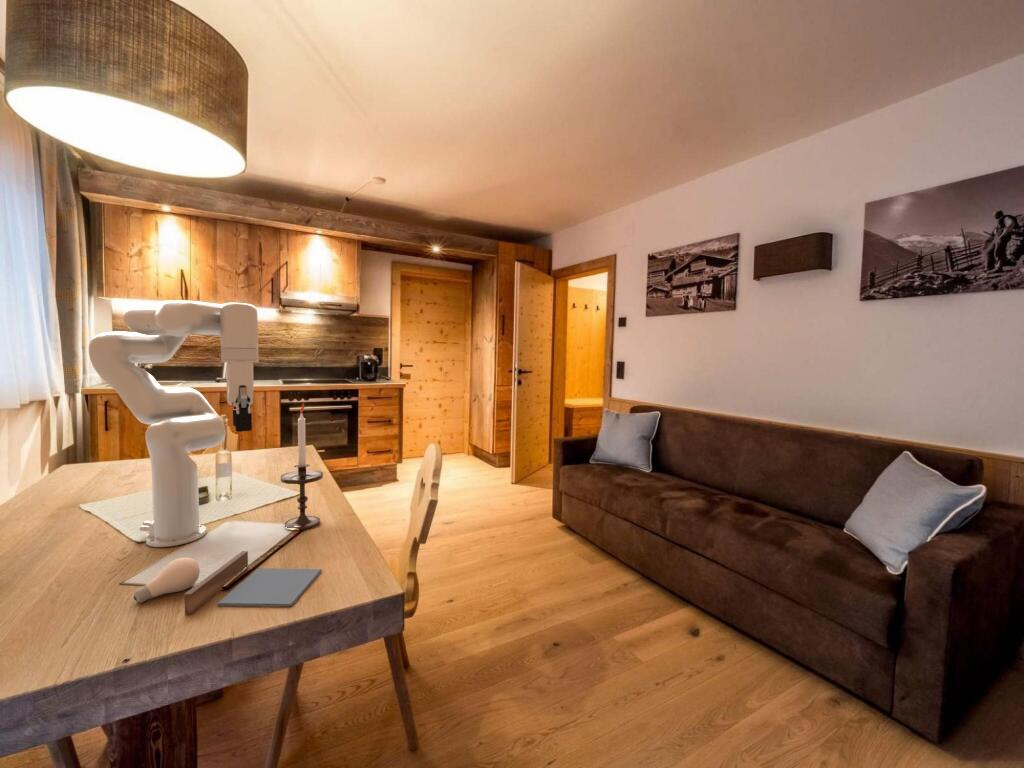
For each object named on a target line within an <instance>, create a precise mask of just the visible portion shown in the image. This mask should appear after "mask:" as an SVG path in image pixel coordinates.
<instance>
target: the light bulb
mask: <svg viewBox="0 0 1024 768" xmlns="http://www.w3.org/2000/svg"><path fill="white" fill-rule="evenodd" d="M200 572H201V570H200V565H199V563H198V562H197V561H196V559H193V558H191V557H179V558H176V559H173V560H172V561H170V562H169V563H167V564H166V565H165V566H164V567H163V568H162V569H161V571H160V572H159V573H158V574H157V575H156V576H155V577H154V578H153V579H151V580H149V581H148V582H147V583H146V584H145V585H143V586H141V587H139V588H138V589H136V590H135V591H134V595H133V600H134V601H136V602H137V603H141V604H142V603H145V602H147V601H148V600H150V599H152V598H157V597H159V596H162V595H165V594H170V593H178V592H182V591H185V590H188V589H189V588H191V587H192V586H193V585H194V584H196V582H197V580H198V579H199V576H200Z"/></svg>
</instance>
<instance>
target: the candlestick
mask: <svg viewBox="0 0 1024 768" xmlns="http://www.w3.org/2000/svg"><path fill="white" fill-rule="evenodd" d="M304 408H305V402H302V405H301V407H300V410H299V413H300V415H299V418H298V419H297V451H298V452H297V455H298V461H297V463H298V464H297V465H296V464H295V465H294V466H293V467H294V468H296V469H297V470H294V471H289V472H286V473H283V474H281V476H280V482H281V483H283V484H286V485H287V484H289V485H299V496H298V497H297V498H296V501H297V502H298V503H299V505H298V506H297V509H298V510H299V516H297V517H293V518H289V519H288V520H287V521H285V523H284V528H285V527H287V528H298V529H299V530H301V531H300V532H302V531H307V530H311V529H314V528H317V527H318V526H319V525H321V519H320V517H319V516H314V515H306V509H308V506H307V505H306V502H307V501H308V499H309V497H308V496H307V495H306V484H309V483H313V482H317V481H320V480H322V479H323V478H324V472H323V471H321V470H316V469H307V467H310V466H311V465H310V464H307V463H306V462H307V461H306V459H307V458H306V457H307V456H306V455H307V454H306V446H307V445H306V418H304V415H303V412H304V410H305V409H304ZM294 526H301V527H294Z"/></svg>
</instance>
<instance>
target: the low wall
mask: <svg viewBox="0 0 1024 768" xmlns="http://www.w3.org/2000/svg"><path fill="white" fill-rule="evenodd" d="M247 566H248V567H249V551H248V550H242V551H240V552H239V553H238V554H237V555H235V556H234V557H233V558H231V559H230V560H228V561H227V562H226V563H224V564H222V566H220V567H219V568H218V569H216V570H215V571H214V572H213V571H212V573H210V575H208V576H206V578H204V579H202V580H201V581H200V582H199V583H197V584H196V585H195V586H193V587H192V588H190V589H189V590H188V591H186V592H185V593H184V596H183V597H184V600H183V601H184V616H192V615H193V614H194V613H197V611H198V610H200V609H201V608H202V607H203V606H204V605H205V604H206V603H208V602H209V601H211V599H213V598H214V597H215V596H217V594H219V593H220V592H221V591H222V590H223V589H222V587H223V586H224V585H225V584H226V583H227V582H229V581H230V580H231V579H232V578H233V577H234V576H236V575H237V574H238V573H239V572H241V571H242V570H243V569H244V568H245V567H247Z"/></svg>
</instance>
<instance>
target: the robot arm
mask: <svg viewBox="0 0 1024 768" xmlns="http://www.w3.org/2000/svg"><path fill="white" fill-rule="evenodd" d="M122 318H123V319H122V320H123V323H124V324H125V325H126V327H127V329H130V330H131V331H107V332H102V333H99V334H96V335H95V336H94V337H92V338H91V340H90V342H89V343H88V356H89V360H90V362H91V365H92V367H93V368H94V370H95V372H96V374H98V375H99V377H100V378H101V379H103V381H105V382H106V384H108V385H109V386H110V387H111V388H112V389H113V390H114V391H115V392H116V393H117V395H118V396H119V397H120V400H122V401H123V403H124V404H125V405H126V407H127V408H128V409H129V411H130V412H131V414H132V415H133V416H134V417H135V418H136V419H137V420H138V421H139V422H140V423H142V424H145V425H149V426H148V427H147V429H146V431H145V433H144V436H145V437H144V438H145V444H146V447H147V448H146V449H147V451H148V455H149V459H150V460H149V461H150V469H151V493H152V519H153V520H144V521H143V523H142V524H141V526H140V527H139V531H140V532H149V533H148V534H149V535H148V536H146V538H145V544H146V545H147V546H149V547H152V548H168V547H174V546H175V547H176V546H180V545H184V544H188V543H191V542H194V541H197V540H200V539H201V538H202V537H204V536H205V535H206V534H207V531H208V530H207V527H206V526H205V525H203V524H200V503H199V502H200V501H199V499H200V498H199V493H200V492H199V469H198V466H197V464H196V462H195V461H194V460H193V459H192V458H191V457H190V455H189V454H188V453H190V452H191V453H192V452H197V451H200V450H205V449H206V450H207V449H210V448H215V447H217V446H219V445H220V444H221V443H222V442H223V441H224V440H225V438H226V434H227V429H226V426H225V424H224V422H223V419H222V418H221V417H220V415H219V414H218V413H217V411H216V410H215V409H214V407H213V406H212V405H211V404H210V403H209V401H208V400H207V398H205V396H204V395H203V394H202V393H201V392H200V391H198V390H196V389H195V388H192V387H187V386H185V387H184V386H179V387H178V386H177V387H176V386H175V387H165V386H162V385H161V384H160V383H159V382H158V380H156V377H154V375H152V374H150V373H149V372H148V371H147V370H145V369H144V368H141V367H139V366H137V365H135V364H160V363H166V362H168V361H169V360H170V359H172V358H173V357H174V355H175V354H176V353H177V351H178V349H179V348H180V347H181V346H182V345H183V343H184V342H185V340H186V339H187V338H188V337H189V336H190V335H202V336H203V335H204V336H205V335H206V336H207V335H208V336H220V357H221V358H220V359H221V361H220V362H221V363H226V375H225V377H226V402H227V404H228V405H229V406H232V405H233V409H232V426H234V428H235V432H237V433H238V432H251V431H252V430H253V422H252V421H253V418H252V416H253V415H252V412H251V405H252V404H253V401H254V363H259V360H260V359H259V328H258V327H259V324H258V310H257V308H256V307H255V306H254V305H253V304H251V303H243V302H226V303H223V304H219V303H213V302H212V303H211V302H204V301H195V300H163V301H156V302H155V301H151V302H150V301H149V302H147V301H146V302H144V301H143V302H137V303H134V304H131V305H130V306H128V307H127V308H126V309H125V310H124V312H123V315H122Z"/></svg>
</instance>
